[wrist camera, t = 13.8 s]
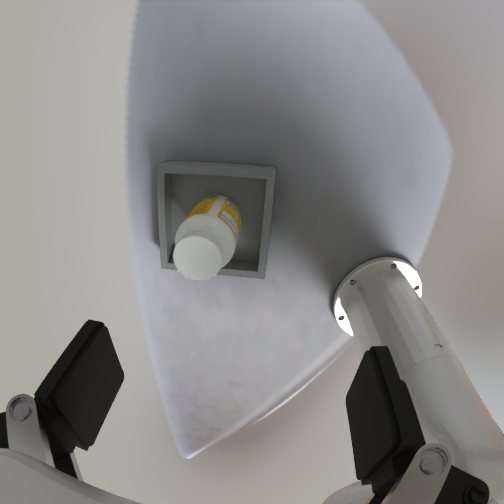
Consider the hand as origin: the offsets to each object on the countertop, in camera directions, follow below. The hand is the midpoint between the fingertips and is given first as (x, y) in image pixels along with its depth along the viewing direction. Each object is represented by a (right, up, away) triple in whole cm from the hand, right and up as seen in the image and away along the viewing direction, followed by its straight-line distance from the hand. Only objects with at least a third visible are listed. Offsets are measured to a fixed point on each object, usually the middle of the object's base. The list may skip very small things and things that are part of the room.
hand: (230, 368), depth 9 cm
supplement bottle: (-3, +8, +21) cm, 23 cm away
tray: (-3, +8, +22) cm, 24 cm away
